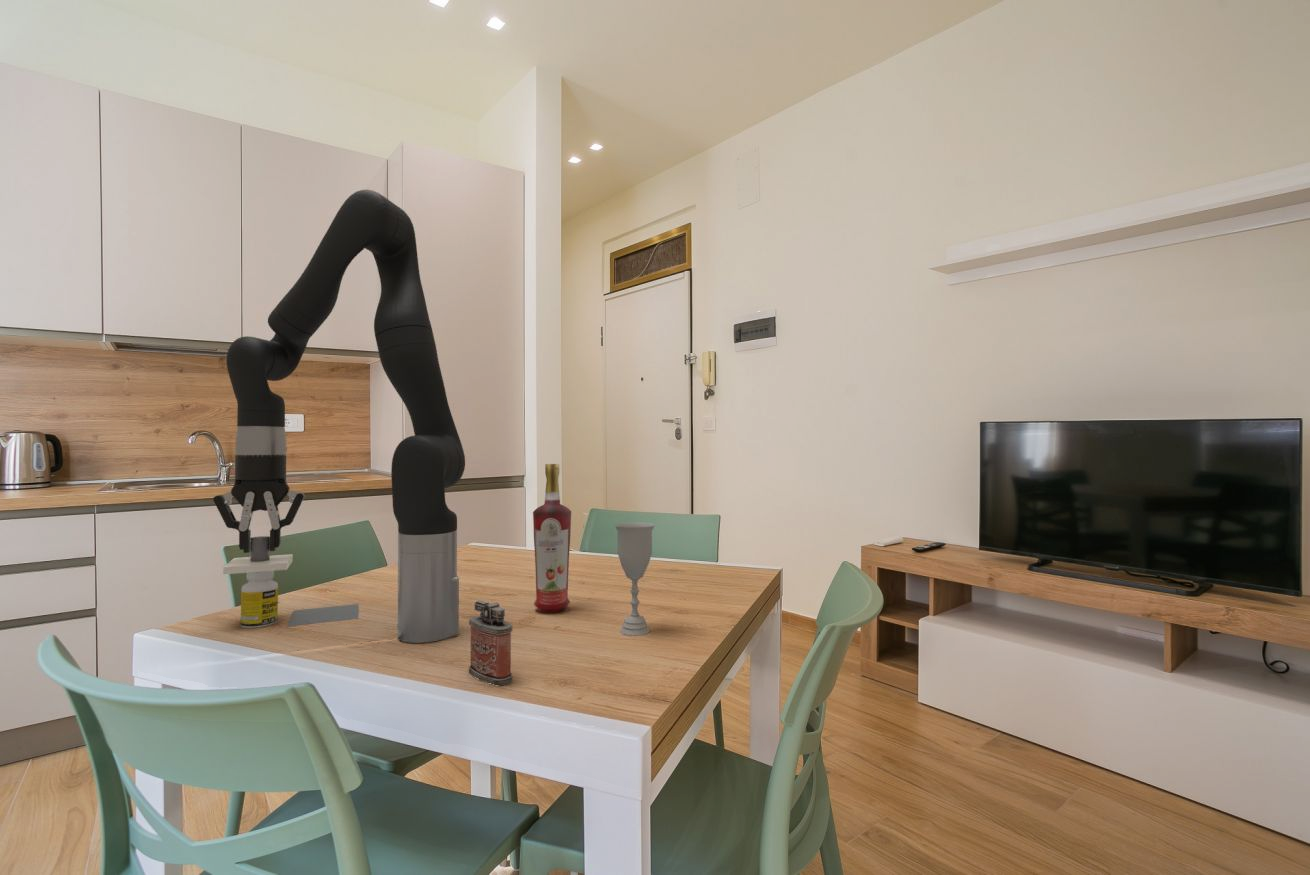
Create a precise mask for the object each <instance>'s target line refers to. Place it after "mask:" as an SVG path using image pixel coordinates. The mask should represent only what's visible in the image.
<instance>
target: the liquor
mask: <svg viewBox="0 0 1310 875" xmlns="http://www.w3.org/2000/svg"><path fill="white" fill-rule="evenodd" d="M544 465H545V467H544V468H545V478H546V483H545V491H544V492H545V494H544V504H542V505H540V506H537V508H535V509H534V510H533V511H532V522H533V524H532V525H533V543H534V544H533V546H534V563H535V564H534V565H535V594H536V595H535V598H536V599H535V601H534V602H533V605H534V606H535V607H536V608H537V609H538V610H539V612H541V613H544V614H545V613H547V614H553V613H560V612H563V611H564V610H565V608H567V607H568V606H569V604H570V603H571V601H570V599H569V596H568V594H569V566H570V564H569V563H570V562H569V561H570V550H571V549H570V548H571V547H570V546H571V532H572V531H571V530H572V527H571V526H572V511H571V509H570V508H569V507H567V506H565V505H563V504H561V497H560V488H559V487H560V484H559V479H560V478H559V476H560V464H559V463H546V464H544Z"/></svg>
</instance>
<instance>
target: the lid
mask: <svg viewBox="0 0 1310 875" xmlns="http://www.w3.org/2000/svg"><path fill="white" fill-rule="evenodd" d="M270 553H271V551H270V535H269V536H268V535H262V536H253V537H252V536H251V546H250V556H246V557H244V556H243V557H234V558H233V559H231V560H230V561H229V562H227V563H226V564H225V565H224V566H223V568H222V570H223V571H222V575H231V574H232V575H233V574H247V573H249V572H263V571H274V572H276V571H287V570H288V569H289V567H290V566H291V564H292V563H293V561H294V559H293V558H294V555H293V553H291V554H277V555H276V554H275V555H274V554H273V555H270Z"/></svg>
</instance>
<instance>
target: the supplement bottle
mask: <svg viewBox="0 0 1310 875" xmlns="http://www.w3.org/2000/svg"><path fill="white" fill-rule="evenodd" d="M274 576H275V571H263V572H249V573H246V581H247V582H245V583H244V584H242V586H241V590H240V592H241V593H240V627H241V628H245V629H247V628H251V629H252V628H261V627H266V626H270V625H274V624H276V623H277V622H278V618H279V617H278V616H279V615H278V612H279V611H278V610H279V609H278V608H279V584H278V582H277V581H275V580H273V579H274Z"/></svg>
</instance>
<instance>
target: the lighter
mask: <svg viewBox="0 0 1310 875" xmlns="http://www.w3.org/2000/svg"><path fill="white" fill-rule="evenodd" d="M473 610H474V611H476V612H479V613H480V614H479V615H474V616H471V617H469V620H468V621H469V622H468V625H470V664H469V665H468V673H470V674H471V675H470V674H469V675H470V676H472V677H473V676H474V677H476V678H478V679H479V680H482V681H484V682H483V683H485V682H487V683H491V684H494V685H504V686H507V685H506V684H508V685H509V683H510V684H511V683H512V682H513V673H511V671H512V670H511V667H512V666H511V665H512V663H511V661H512V660H511V659H512V658H511V655H512V651H511V650H512V645H511V644H512V640H511V639H512V638H511V637H512V635H511V634H512V632H513V624H512V623H510V622H509V621H507V620H505V615H506V614H505V612H506V611H505V608H503V607H500V604H499V603H498V602H492V603H489V602H487V601H485V600H480V599H478V600H476V601H475V602H474V608H473ZM474 677H473V678H474ZM476 678H475V679H476ZM478 679H477V680H478ZM479 680H478V681H479ZM482 681H481V682H482ZM487 683H486V684H487ZM491 684H490V685H491ZM494 685H493V686H494Z"/></svg>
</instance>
